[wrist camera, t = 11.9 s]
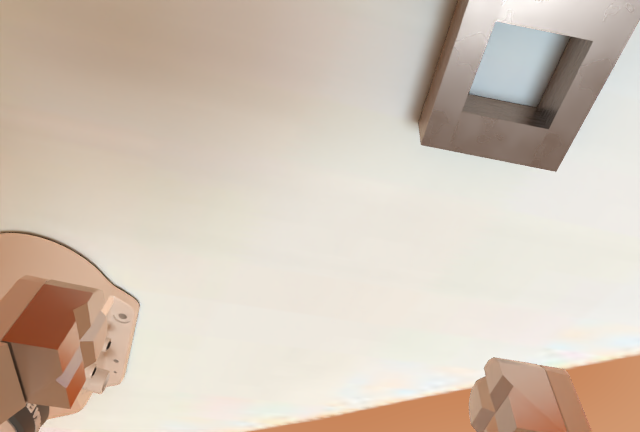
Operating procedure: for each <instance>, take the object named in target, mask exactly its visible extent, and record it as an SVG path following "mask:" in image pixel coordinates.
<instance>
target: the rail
mask: <svg viewBox="0 0 640 432" xmlns="http://www.w3.org/2000/svg"><path fill="white" fill-rule="evenodd" d="M639 20H640V0H458V1H457V5H456V8H455V11H454V14H453V17H452V20H451V23H450V26H449V30H448V33H447V36H446V39H445V42H444V45H443V48H442V51H441V54H440V58H439V61H438V64H437V67H436V70H435V73H434V76H433V79H432V82H431V86H430V89H429V92H428V95H427V98H426V101H425V104H424V107H423V110H422V114H421V117H420V120H419V123H418V125H419V133H420V142H421V145H424V146H429V147H434V148H439V149H444V150H449V151H455V152H460V153H465V154H470V155H475V156H480V157H485V158H490V159H495V160H500V161H505V162H510V163H515V164H520V165H525V166H530V167H535V168H540V169H545V170H550V171H557V169H558V167H559V165H560V164H561V162H562V160H563V158H564V156H565V155H566V153H567V151H568V149H569V147H570V145H571V144H572V142H573V140H574V138H575V136H576V135H577V133H578V131H579V129H580V127H581V125H582V124H583V122H584V120H585V118H586V116H587V115H588V113H589V111H590V109H591V107H592V105H593V104H594V102H595V100H596V98H597V96H598V95H599V93H600V91H601V89H602V87H603V85H604V84H605V82H606V80H607V78H608V76H609V75H610V73H611V71H612V69H613V67H614V66H615V64H616V62H617V60H618V58H619V56H620V55H621V53H622V51H623V49H624V47H625V46H626V44H627V42H628V40H629V38H630V36H631V35H632V33H633V31H634V29H635V27H636V26H637V24H638V22H639ZM496 21H497V22H502V23H507V24H512V25H517V26H522V27H527V28H531V29H536V30H541V31H546V32H551V33H556V34H561V35H566V36H571V38H570V40H569V42H568V44H567V46H566V48H565V50H564V52H563V54H562V57H561V59H560V61H559V63H558V65H557V67H556V69H555V71H554V73H553V75H552V78H551V80H550V82H549V84H548V86H547V88H546V90H545V92H544V94H543V96H542V99H541V101H540V103H539V105H538V107H537V108H535V107H530V106H525V105H520V104H515V103H510V102H505V101H500V100H495V99H490V98H485V97H480V96H475V95H470V94H468V93H469V91H470V88H471V85H472V83H473V80H474V77H475V75H476V72H477V69H478V67H479V64H480V62H481V59H482V56H483V54H484V51H485V48H486V46H487V43H488V40H489V38H490V35H491V32H492V30H493V27H494V24H495V22H496Z"/></svg>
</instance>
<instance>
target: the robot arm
mask: <svg viewBox="0 0 640 432" xmlns="http://www.w3.org/2000/svg"><path fill="white" fill-rule="evenodd" d="M138 312H139V303H138V302H137V301H136V300H135V299H134V298H133V297H131V296H130V295H128V294H127V293H125V292H124V291H122V290H120V289H118V288H117V287H115V286H114V285H112V284H111V283H110V282H109V281H108V280H107V279H106V278H105V277H104V276H103V275H102V274H101V272H100V271H99V270H98V269H96V268H95V267H94V266H93V265H92V264H91V263H90V262H88V261H87V260H86V259H84V258H83V257H81V256H80V255H78V254H77V253H75V252H73V251H72V250H70V249H68V248H66V247H64V246H62V245H60V244H57V243H55V242H52V241H50V240H47V239H44V238H40V237H37V236H32V235H27V234H20V233H2V234H0V432H38V431H39V429H40V427H41V426H42V425H43V424H44V422H45V421H46V420H48V419H52V418H56V417H61V416H66V415H70V414H74V413H77V412H79V411H80V410H82V409H83V408H84V406H85V405H86V403H87V402H88V400H89V398H90V396H91V395H92V393H93V392H94V393H98V394H100V393H101V394H102V393H103V391H104V390H105V388H106V387H108V386H114V385H118V384H120V383H121V381H122V380H123V378H124V376H125V373H126V368H127V364H128V359H129V354H130V350H131V345H132V340H133V336H134V331H135V326H136V322H137V317H138ZM484 370H485V375H486V376H485V377H483V378H481V379H479V380H477V381H476V382H475V384H474V386H473V388H472V390H471V394H470V400H469V415H470V421H471V425H472V426H473V428H474V429H475V430H476V431H477V432H592V430H591V428H590V425H589V423H588V420H587V418H586V415H585V413H584V410H583V408H582V405H581V403H580V400H579V398H578V396H577V393H576V391H575V389H574V386H573V383H572V381H571V379H570V376H569V374H568V373H567V372H566V371H565V370H564V369H560V368H554V367H548V366H542V365H537V364H532V363H526V362H520V361H514V360H508V359H501V358H495V357H493V358H491V359H490V360H488V362H487V364H486V365H485V367H484Z"/></svg>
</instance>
